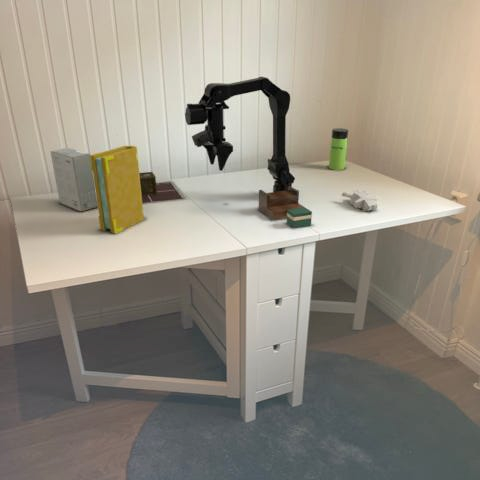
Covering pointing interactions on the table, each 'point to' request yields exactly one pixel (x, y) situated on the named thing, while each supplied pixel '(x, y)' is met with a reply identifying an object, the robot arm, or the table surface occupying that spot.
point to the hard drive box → (74, 178)
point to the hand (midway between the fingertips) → (216, 167)
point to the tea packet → (299, 217)
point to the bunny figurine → (361, 200)
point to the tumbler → (338, 149)
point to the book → (117, 188)
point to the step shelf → (279, 203)
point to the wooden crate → (156, 189)
